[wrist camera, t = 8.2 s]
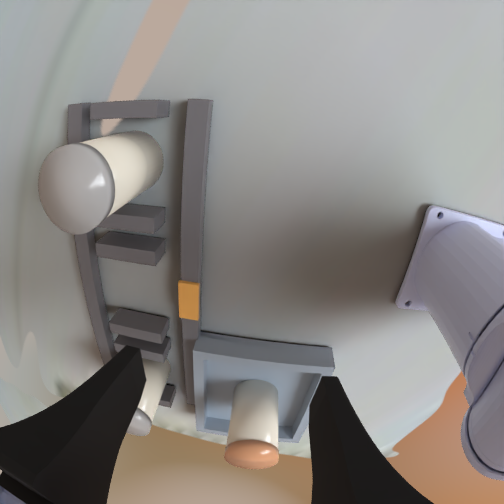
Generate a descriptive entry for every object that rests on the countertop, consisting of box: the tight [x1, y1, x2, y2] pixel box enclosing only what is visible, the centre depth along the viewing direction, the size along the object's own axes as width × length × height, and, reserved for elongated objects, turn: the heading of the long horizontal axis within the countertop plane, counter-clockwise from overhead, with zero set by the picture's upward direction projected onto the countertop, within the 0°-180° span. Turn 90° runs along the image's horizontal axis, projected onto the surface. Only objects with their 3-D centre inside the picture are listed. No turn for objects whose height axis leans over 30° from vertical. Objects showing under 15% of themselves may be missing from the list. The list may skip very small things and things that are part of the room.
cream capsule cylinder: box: [38, 131, 163, 234], centre depth 14 cm, size 4×4×7 cm
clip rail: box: [68, 99, 213, 408], centre depth 20 cm, size 10×26×2 cm, turn 174°
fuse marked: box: [224, 380, 279, 469], centre depth 22 cm, size 4×4×7 cm
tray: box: [193, 331, 335, 443], centre depth 25 cm, size 11×13×2 cm
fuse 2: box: [126, 358, 171, 436], centre depth 22 cm, size 4×4×7 cm
